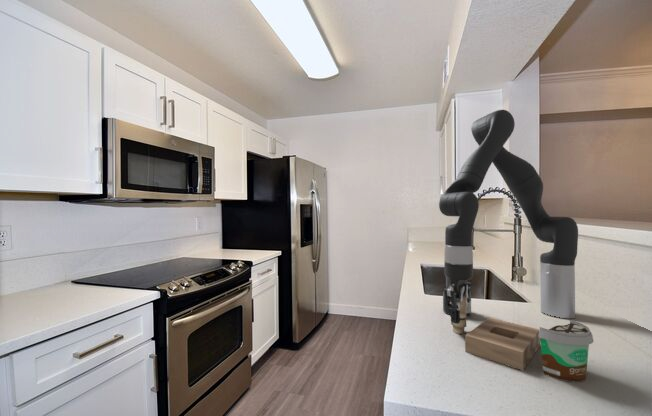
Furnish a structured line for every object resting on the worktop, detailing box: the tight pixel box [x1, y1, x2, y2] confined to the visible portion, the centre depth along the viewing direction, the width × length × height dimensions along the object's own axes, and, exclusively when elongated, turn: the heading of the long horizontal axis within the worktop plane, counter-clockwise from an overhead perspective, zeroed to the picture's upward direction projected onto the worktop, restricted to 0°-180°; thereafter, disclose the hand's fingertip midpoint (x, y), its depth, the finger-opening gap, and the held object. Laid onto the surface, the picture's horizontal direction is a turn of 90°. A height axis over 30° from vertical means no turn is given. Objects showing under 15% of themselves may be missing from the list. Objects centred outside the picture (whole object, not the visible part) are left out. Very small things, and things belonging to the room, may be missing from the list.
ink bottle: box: [442, 276, 472, 317], centre depth 99 cm, size 10×9×12 cm
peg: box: [450, 296, 468, 335], centre depth 83 cm, size 4×4×10 cm
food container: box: [538, 319, 594, 383], centre depth 61 cm, size 12×6×10 cm, turn 114°
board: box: [464, 317, 541, 371], centre depth 73 cm, size 18×12×4 cm, turn 133°
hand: (458, 320), depth 83 cm, fingers closed on peg, 4 cm apart
